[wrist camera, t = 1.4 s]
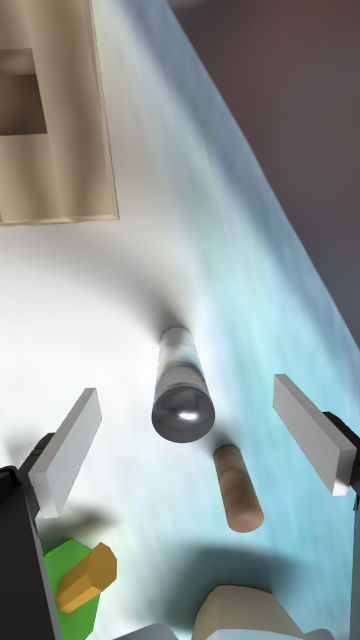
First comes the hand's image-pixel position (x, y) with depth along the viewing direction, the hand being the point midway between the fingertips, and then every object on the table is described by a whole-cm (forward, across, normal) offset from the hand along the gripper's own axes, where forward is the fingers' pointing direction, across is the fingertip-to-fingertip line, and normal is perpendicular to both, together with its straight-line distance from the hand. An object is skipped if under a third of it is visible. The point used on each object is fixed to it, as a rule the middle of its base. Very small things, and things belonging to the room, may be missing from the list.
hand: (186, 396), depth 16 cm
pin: (+11, 0, 0) cm, 11 cm away
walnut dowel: (+11, +6, -18) cm, 22 cm away
